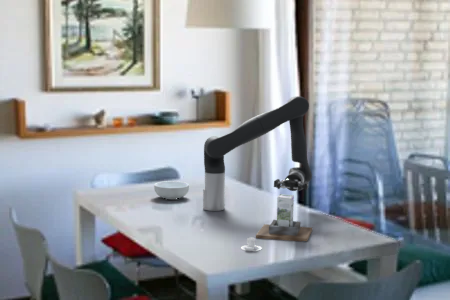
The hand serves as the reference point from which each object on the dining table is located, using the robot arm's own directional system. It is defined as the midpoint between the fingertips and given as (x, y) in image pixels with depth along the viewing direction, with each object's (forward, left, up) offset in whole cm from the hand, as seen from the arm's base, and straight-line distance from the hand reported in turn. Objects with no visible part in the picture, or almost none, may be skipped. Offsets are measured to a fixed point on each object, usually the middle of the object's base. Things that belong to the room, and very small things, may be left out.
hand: (288, 187), depth 303 cm
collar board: (+1, -15, -16) cm, 22 cm away
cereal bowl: (-63, +37, -16) cm, 75 cm away
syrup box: (+1, -15, -15) cm, 21 cm away
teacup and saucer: (-10, -40, -17) cm, 45 cm away
